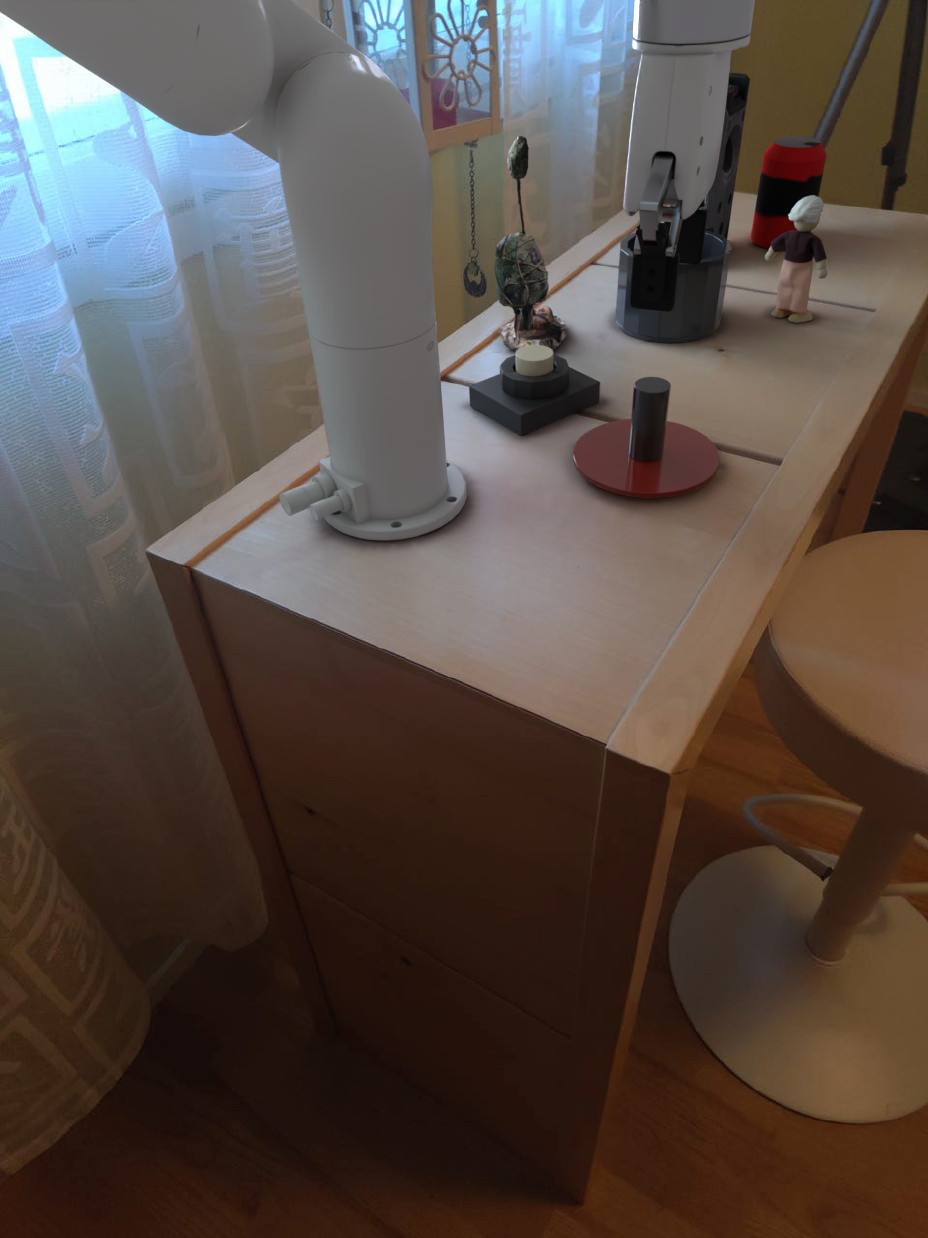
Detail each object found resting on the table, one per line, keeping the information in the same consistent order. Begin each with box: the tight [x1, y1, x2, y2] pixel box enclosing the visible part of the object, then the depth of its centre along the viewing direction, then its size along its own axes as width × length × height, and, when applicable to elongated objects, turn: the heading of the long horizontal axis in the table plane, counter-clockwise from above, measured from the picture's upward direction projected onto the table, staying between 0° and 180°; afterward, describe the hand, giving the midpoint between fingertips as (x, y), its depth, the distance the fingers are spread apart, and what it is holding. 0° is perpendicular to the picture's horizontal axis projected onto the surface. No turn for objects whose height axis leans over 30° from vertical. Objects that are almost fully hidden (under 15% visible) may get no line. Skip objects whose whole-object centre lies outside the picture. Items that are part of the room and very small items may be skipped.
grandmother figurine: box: [764, 195, 829, 324], centre depth 96 cm, size 8×4×13 cm, turn 50°
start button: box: [515, 345, 555, 377], centre depth 85 cm, size 4×4×2 cm
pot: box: [614, 230, 732, 344], centre depth 98 cm, size 12×12×8 cm
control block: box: [468, 353, 601, 437], centre depth 86 cm, size 10×8×4 cm
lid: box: [572, 376, 721, 499], centre depth 76 cm, size 13×13×8 cm
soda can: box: [750, 135, 828, 250], centre depth 115 cm, size 8×8×12 cm
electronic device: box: [669, 72, 751, 240], centre depth 109 cm, size 9×6×20 cm, turn 148°
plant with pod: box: [492, 135, 568, 351], centre depth 92 cm, size 8×11×20 cm
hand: (667, 283), depth 68 cm, fingers open, 9 cm apart
